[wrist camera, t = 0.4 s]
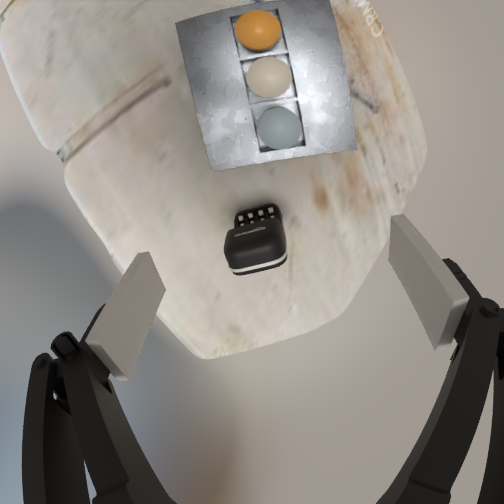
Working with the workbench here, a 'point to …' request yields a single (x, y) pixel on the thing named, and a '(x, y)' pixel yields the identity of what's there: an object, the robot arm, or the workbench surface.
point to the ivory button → (269, 77)
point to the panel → (253, 106)
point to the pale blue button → (279, 128)
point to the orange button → (258, 30)
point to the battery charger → (256, 241)
